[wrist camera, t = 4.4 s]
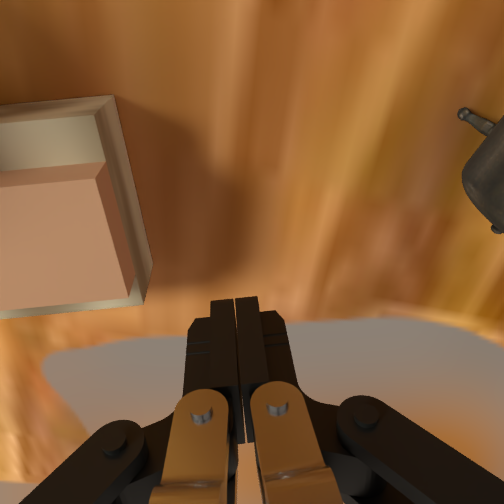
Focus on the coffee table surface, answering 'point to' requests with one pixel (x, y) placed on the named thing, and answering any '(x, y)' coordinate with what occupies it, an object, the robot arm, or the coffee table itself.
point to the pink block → (61, 237)
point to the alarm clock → (486, 170)
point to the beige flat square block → (78, 152)
